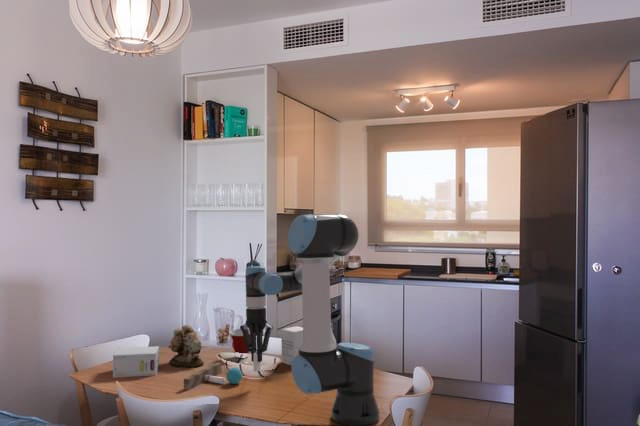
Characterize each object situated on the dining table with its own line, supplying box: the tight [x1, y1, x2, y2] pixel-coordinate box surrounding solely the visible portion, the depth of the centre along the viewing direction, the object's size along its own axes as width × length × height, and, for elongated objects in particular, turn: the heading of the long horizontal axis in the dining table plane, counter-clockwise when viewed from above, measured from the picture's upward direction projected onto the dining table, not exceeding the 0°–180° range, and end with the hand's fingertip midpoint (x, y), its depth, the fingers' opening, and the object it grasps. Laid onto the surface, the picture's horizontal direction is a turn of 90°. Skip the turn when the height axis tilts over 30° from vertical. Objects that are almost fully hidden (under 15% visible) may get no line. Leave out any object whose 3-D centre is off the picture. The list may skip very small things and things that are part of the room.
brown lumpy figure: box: [168, 324, 205, 369], centre depth 238 cm, size 18×12×17 cm, turn 60°
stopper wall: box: [183, 362, 222, 391], centre depth 213 cm, size 24×2×4 cm, turn 160°
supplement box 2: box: [280, 325, 303, 366], centre depth 238 cm, size 9×9×15 cm
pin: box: [204, 375, 227, 385], centre depth 210 cm, size 2×2×8 cm
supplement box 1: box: [112, 345, 160, 379], centre depth 226 cm, size 17×13×9 cm
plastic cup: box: [229, 328, 251, 354], centre depth 249 cm, size 11×11×12 cm
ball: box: [226, 367, 243, 385], centre depth 209 cm, size 6×6×6 cm
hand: (257, 370), depth 204 cm, fingers closed
